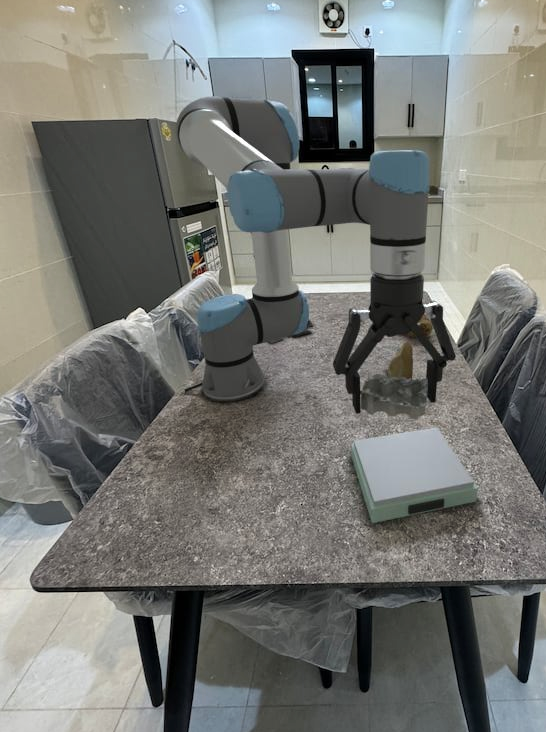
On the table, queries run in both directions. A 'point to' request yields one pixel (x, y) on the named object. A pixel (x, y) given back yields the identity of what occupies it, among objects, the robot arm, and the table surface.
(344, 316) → the table surface
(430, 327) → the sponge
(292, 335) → the cloth
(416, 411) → the egg carton
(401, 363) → the rock
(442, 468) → the scale
